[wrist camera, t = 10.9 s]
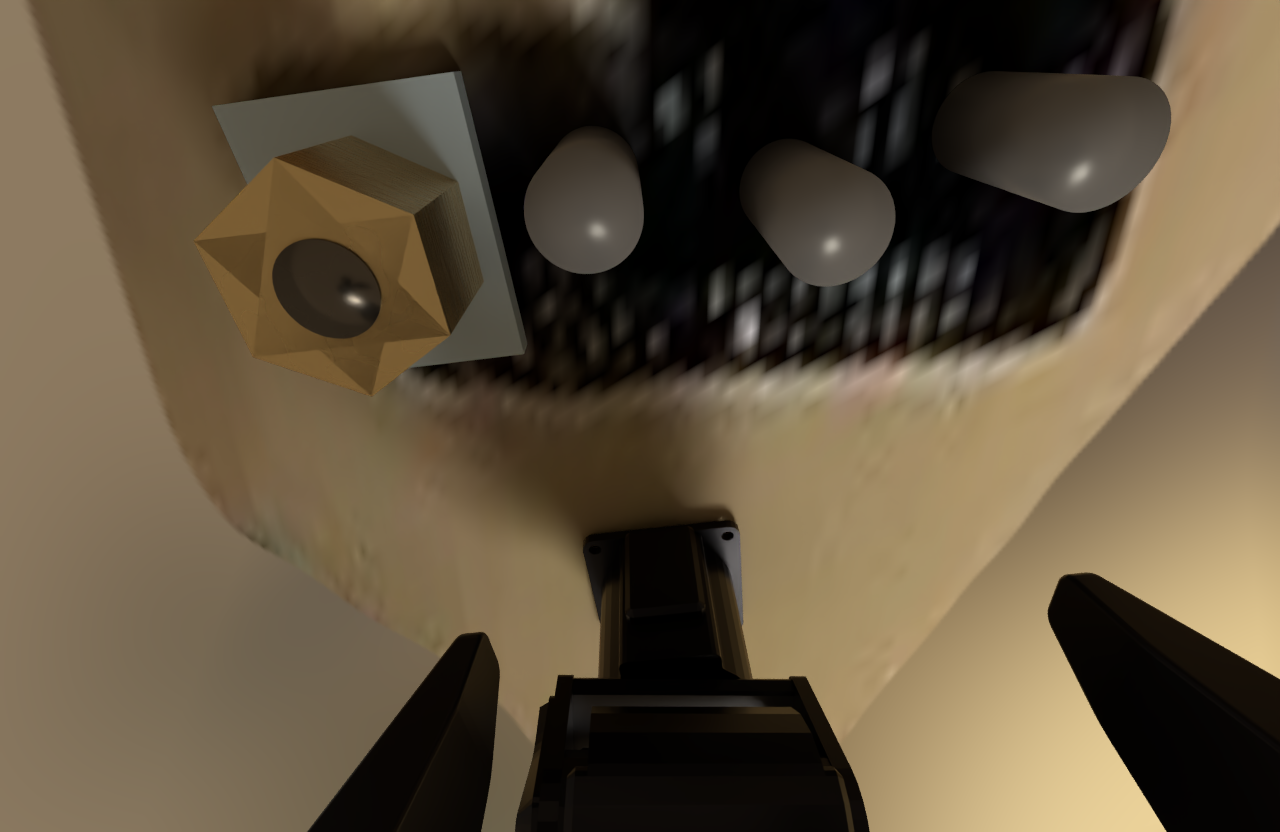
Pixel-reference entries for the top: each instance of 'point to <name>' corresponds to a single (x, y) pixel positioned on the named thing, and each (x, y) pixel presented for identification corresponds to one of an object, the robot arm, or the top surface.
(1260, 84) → the top surface
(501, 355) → the pad
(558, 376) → the top surface
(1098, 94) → the spacer field
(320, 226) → the hex nut
